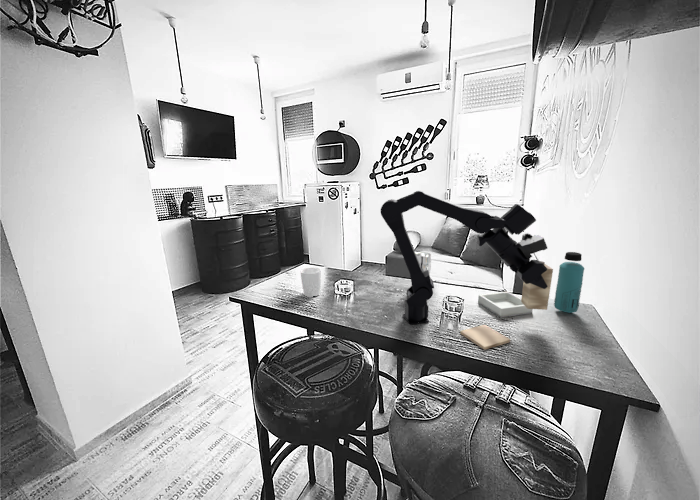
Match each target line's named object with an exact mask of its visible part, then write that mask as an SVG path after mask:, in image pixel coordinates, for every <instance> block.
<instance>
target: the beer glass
mask: <svg viewBox="0 0 700 500" xmlns="http://www.w3.org/2000/svg"><path fill="white" fill-rule="evenodd" d="M415 254H416V256H417V259H418V261H419V264H420V266H421V268H422V269H423V270H424V272H425V271H427V270H429V275H430V274H431V271H432V254H431V253H429V252H425V251H424V252H423V251H420V252H415Z"/></svg>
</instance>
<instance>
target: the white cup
mask: <svg viewBox="0 0 700 500" xmlns="http://www.w3.org/2000/svg"><path fill="white" fill-rule="evenodd" d="M321 271H322V269H321V268H318V267H307V268H303V269H301V270H300V278H301V279H300V280H301V284H302V286H301V287H302V289H303V290H302V291H303V296H304V295H305V296H307V297H306V298H314V297H313V296H317V295H319V294H320V295H321V290H322V289H321V287H322V279H321V278H322V272H321ZM320 295H319V296H320ZM305 296H304V297H305ZM317 297H318V296H317Z"/></svg>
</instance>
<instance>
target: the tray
mask: <svg viewBox="0 0 700 500" xmlns="http://www.w3.org/2000/svg"><path fill="white" fill-rule="evenodd" d="M521 298H522V297H519V296H517V295H515V294H514V293H512V292H510V291H500V292H492V293H491V292H490V293H483V294H478V299H477V300H478V301H477V303H478V304H479V305H480V306H482V307H484V308H485V309H487V310H488V311H490V312H491V313H493V314H494V315H495V316H498V317H499V318H507V317H513V316H521V315H523V316H524V315H529V314H533V310H534V309H527V308H526V306H525V305H524V304H523V303H522V302H521Z"/></svg>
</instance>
